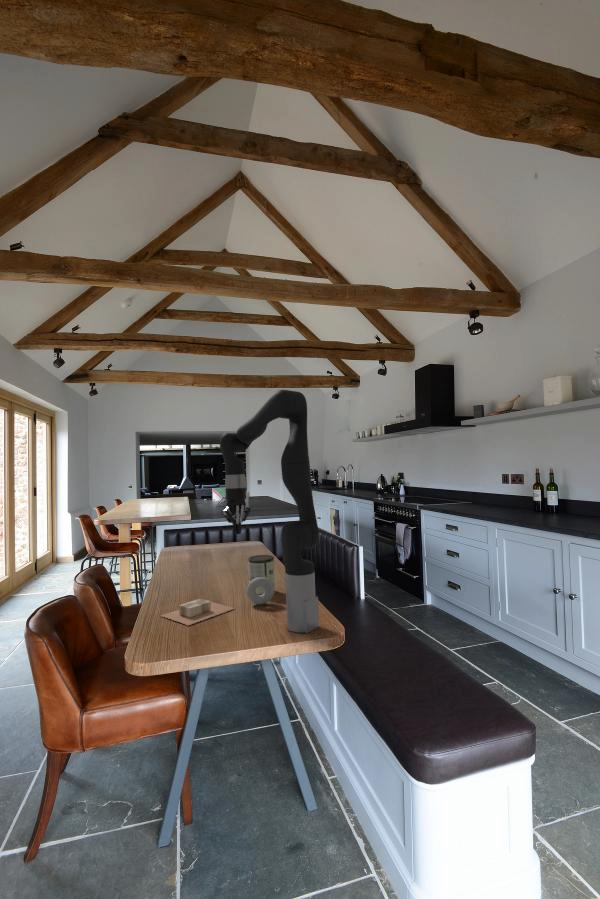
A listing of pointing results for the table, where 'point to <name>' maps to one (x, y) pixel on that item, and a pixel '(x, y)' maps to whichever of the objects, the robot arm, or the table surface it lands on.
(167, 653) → the table surface
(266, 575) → the coffee can
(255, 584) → the donut
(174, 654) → the table surface
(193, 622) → the mat
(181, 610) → the beige rectangular block
